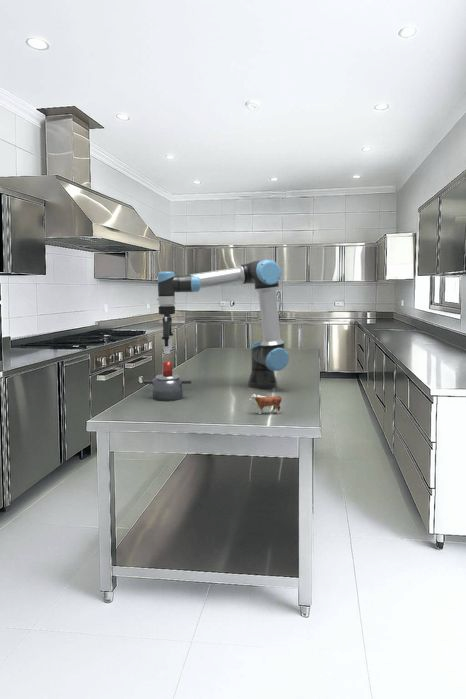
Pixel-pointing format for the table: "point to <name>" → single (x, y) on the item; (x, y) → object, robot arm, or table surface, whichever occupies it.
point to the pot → (167, 389)
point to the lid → (167, 373)
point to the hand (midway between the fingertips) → (168, 351)
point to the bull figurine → (266, 402)
